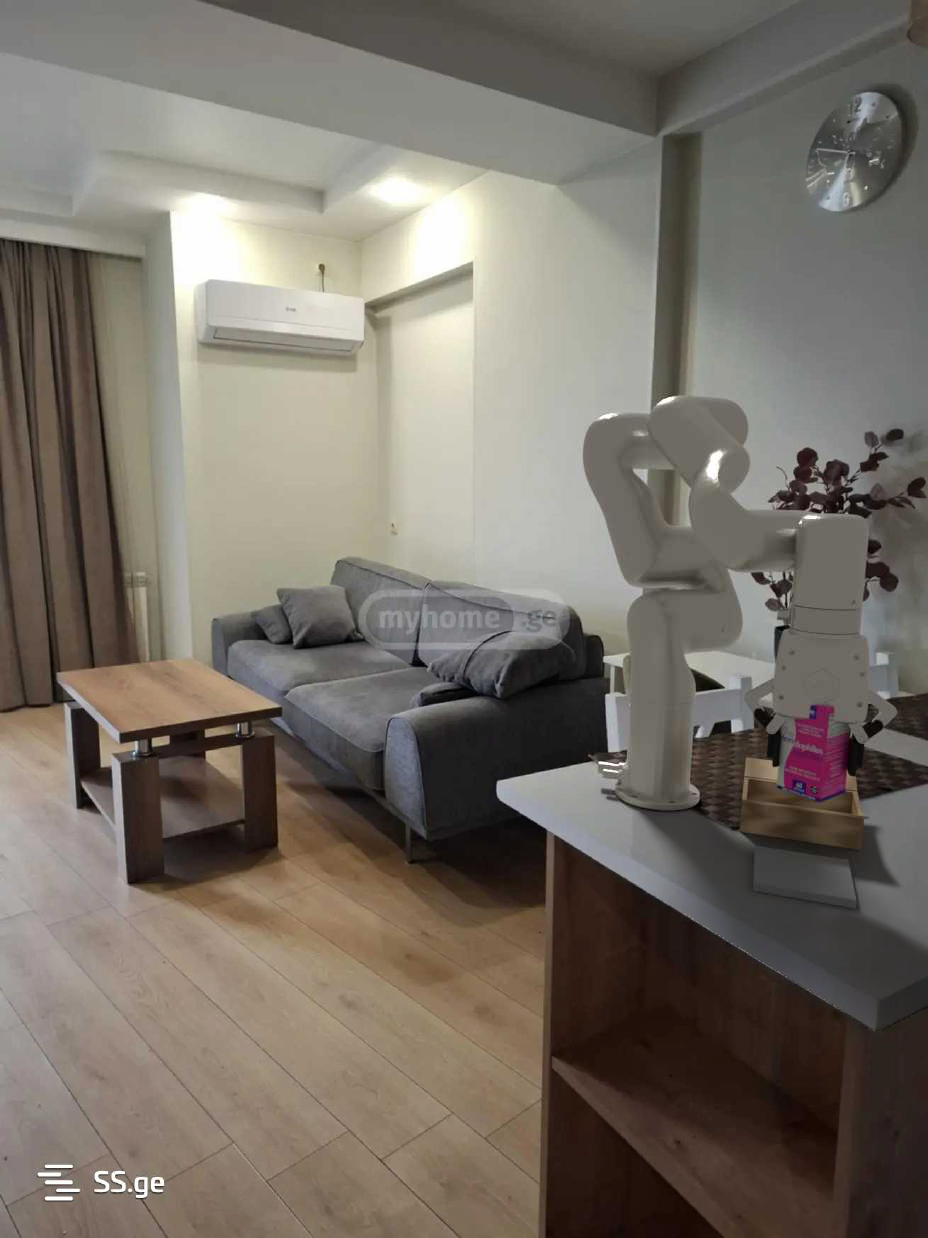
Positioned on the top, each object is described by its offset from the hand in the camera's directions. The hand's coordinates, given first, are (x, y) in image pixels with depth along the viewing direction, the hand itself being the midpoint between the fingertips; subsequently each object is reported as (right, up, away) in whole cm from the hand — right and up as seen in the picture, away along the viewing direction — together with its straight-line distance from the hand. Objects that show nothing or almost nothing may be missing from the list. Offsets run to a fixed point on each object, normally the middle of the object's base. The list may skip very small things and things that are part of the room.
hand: (812, 767), depth 98 cm
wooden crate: (+6, -12, +18) cm, 22 cm away
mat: (0, -14, +2) cm, 14 cm away
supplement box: (0, -3, +1) cm, 3 cm away
